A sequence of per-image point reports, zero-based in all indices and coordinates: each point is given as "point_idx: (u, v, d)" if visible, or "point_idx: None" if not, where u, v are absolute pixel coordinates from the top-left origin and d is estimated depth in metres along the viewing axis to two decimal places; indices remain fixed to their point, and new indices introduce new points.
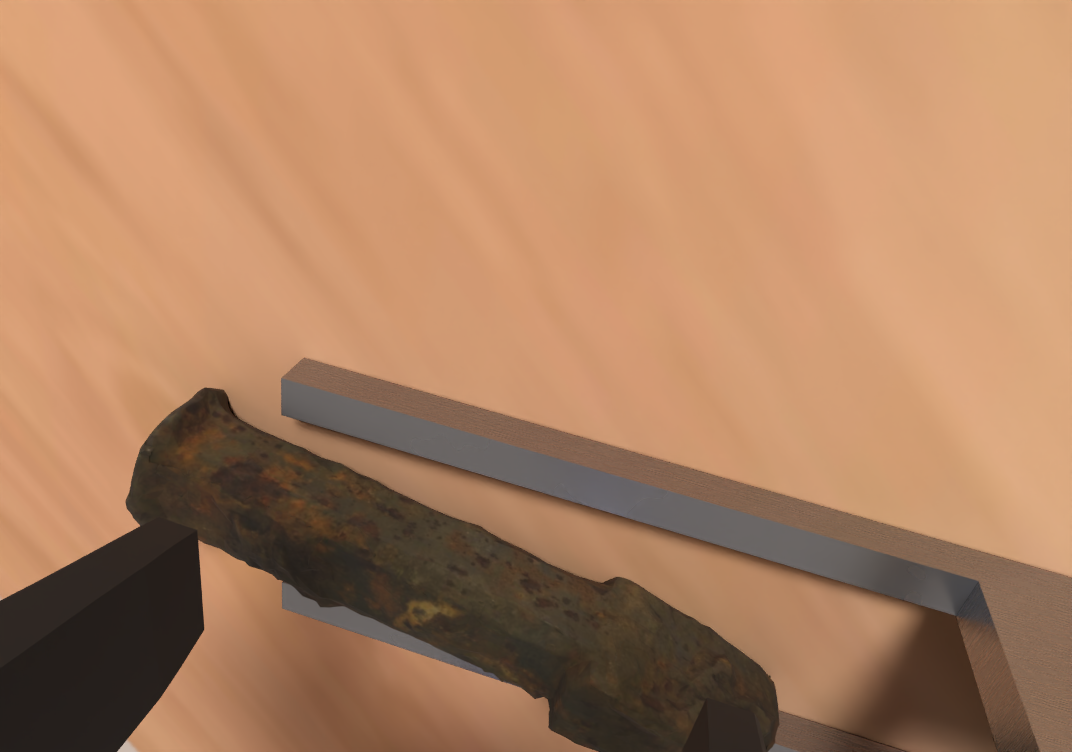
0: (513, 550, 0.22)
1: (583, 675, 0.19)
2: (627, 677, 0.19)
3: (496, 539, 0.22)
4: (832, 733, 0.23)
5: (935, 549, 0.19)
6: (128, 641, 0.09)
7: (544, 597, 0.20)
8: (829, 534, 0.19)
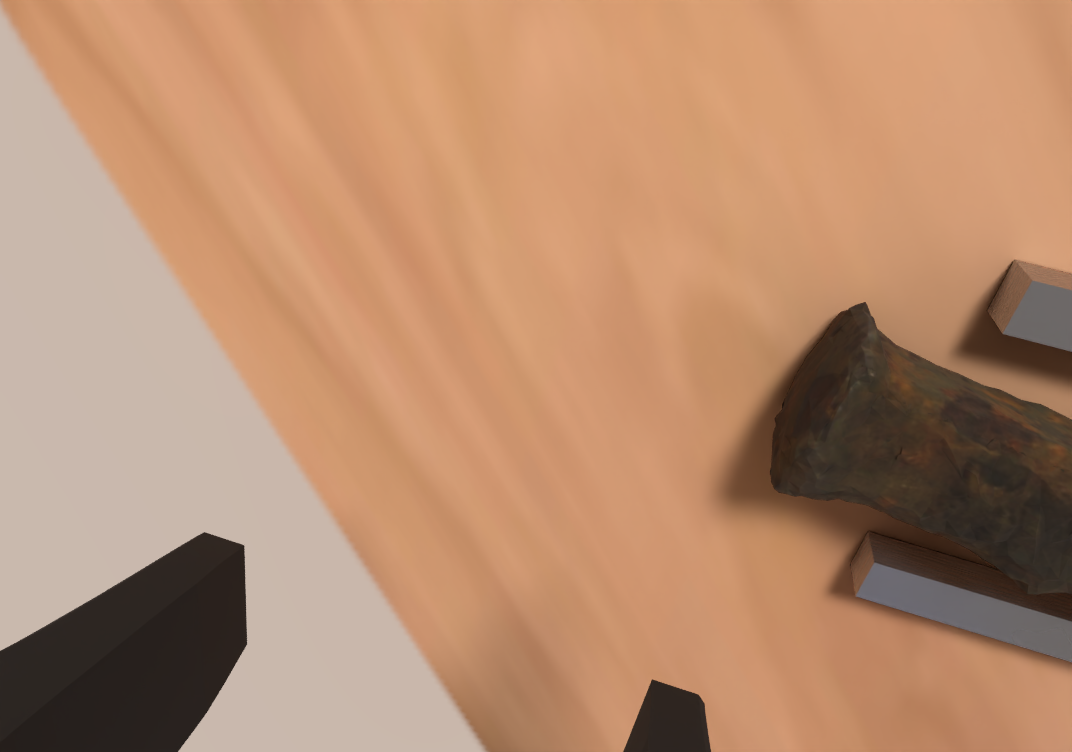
0: None
1: None
2: None
3: None
4: None
5: None
6: (178, 659, 0.09)
7: None
8: None
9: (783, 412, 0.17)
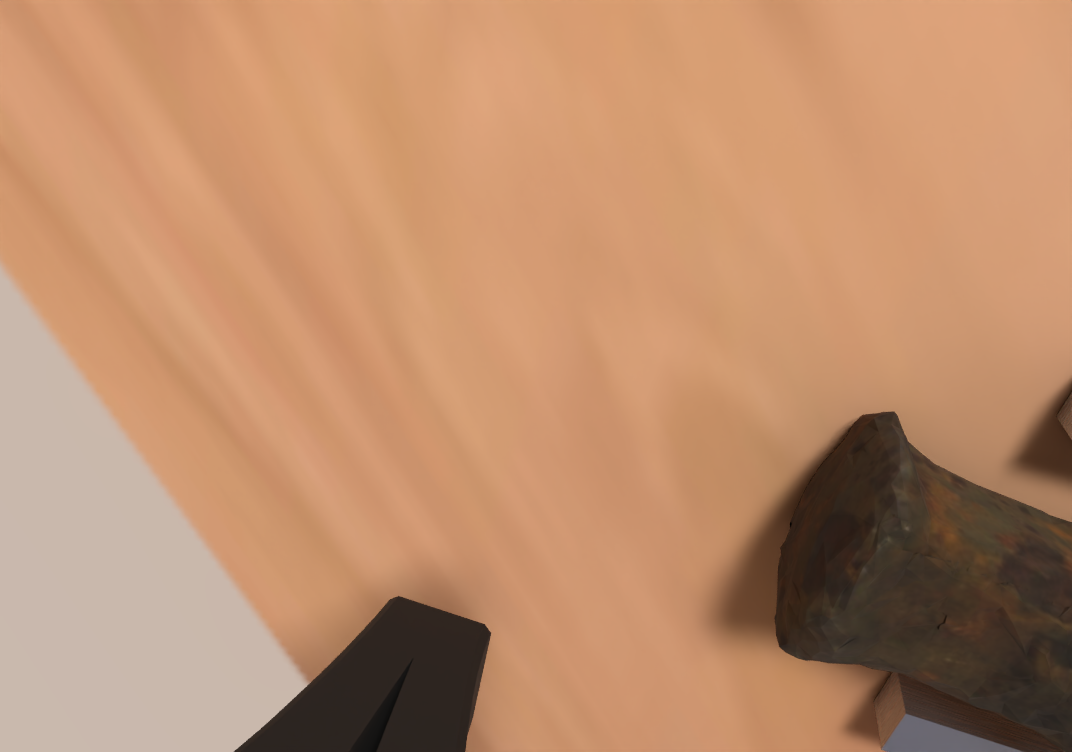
0: None
1: None
2: None
3: None
4: None
5: None
6: None
7: None
8: None
9: (790, 545, 0.14)
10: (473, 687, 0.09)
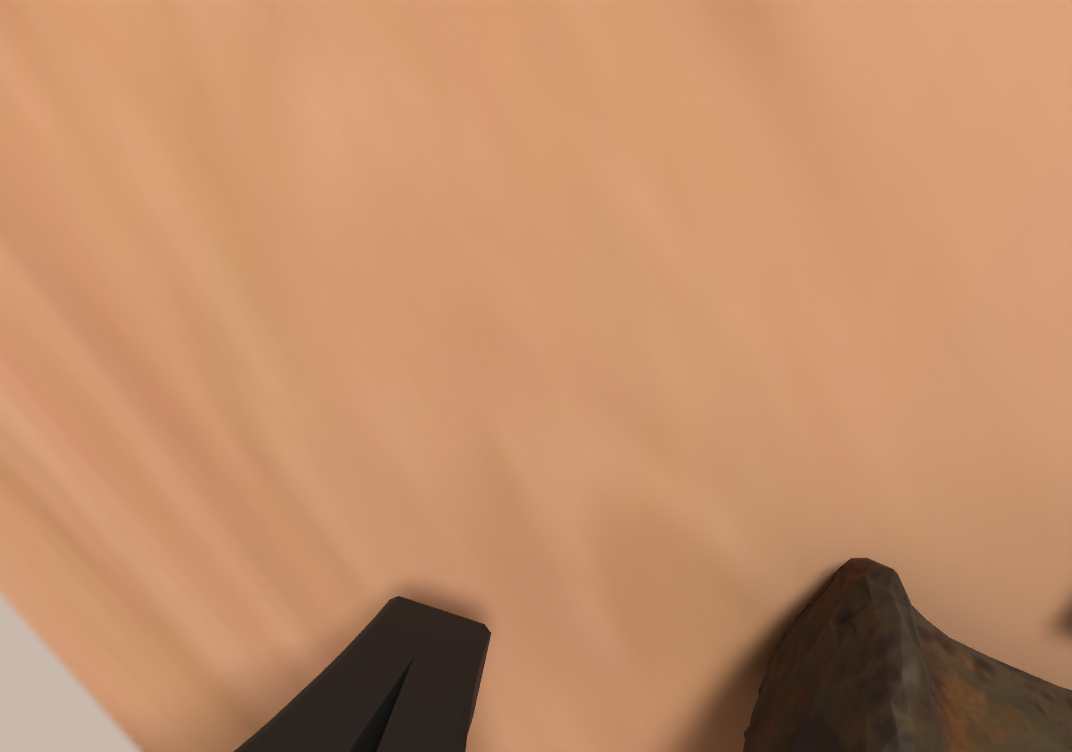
0: None
1: None
2: None
3: None
4: None
5: None
6: None
7: None
8: None
9: (756, 738, 0.10)
10: (473, 687, 0.09)
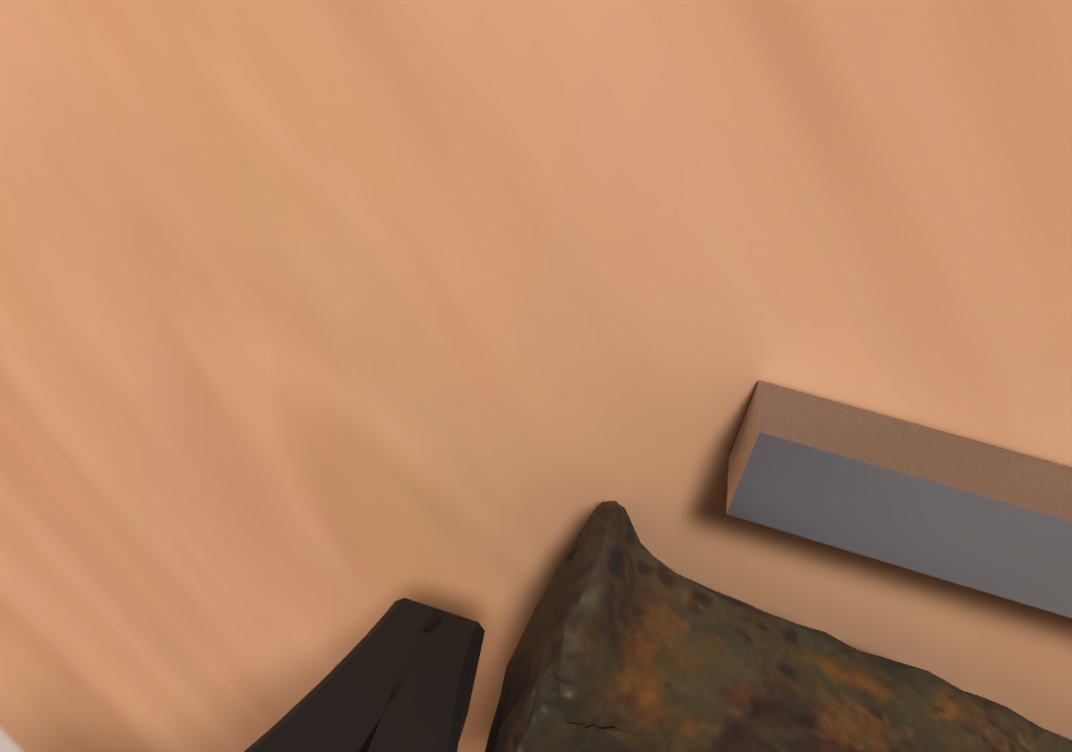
0: None
1: None
2: None
3: None
4: None
5: None
6: None
7: None
8: None
9: None
10: (466, 685, 0.09)
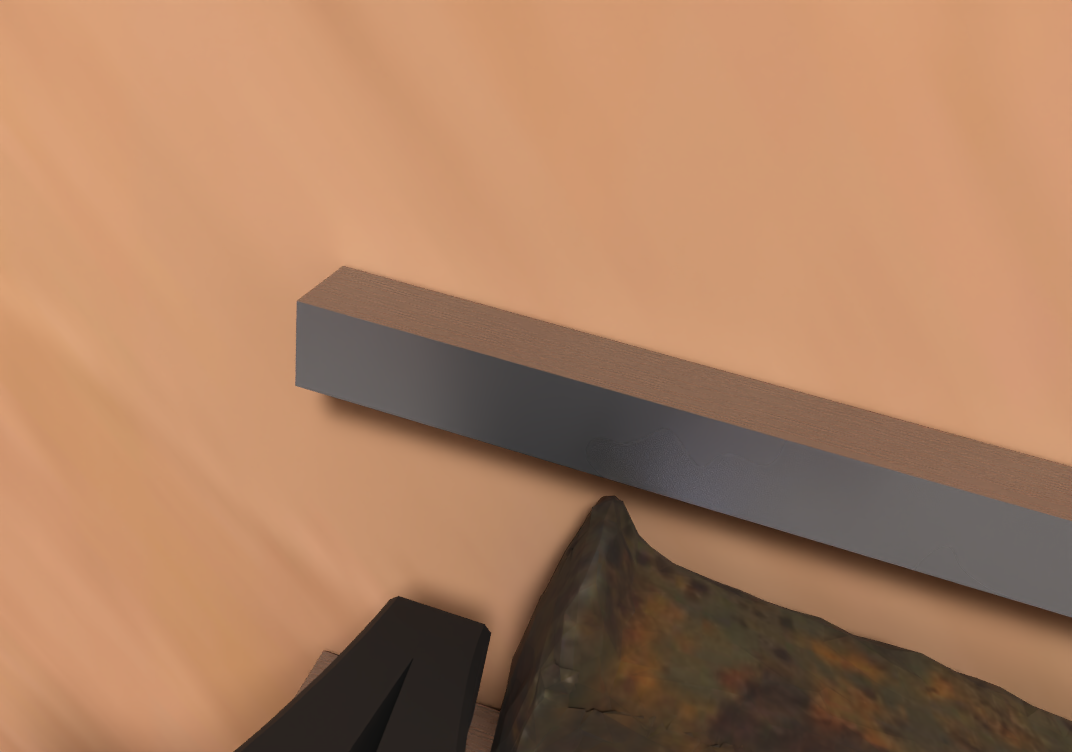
0: None
1: None
2: None
3: None
4: None
5: None
6: None
7: None
8: None
9: None
10: (473, 687, 0.09)
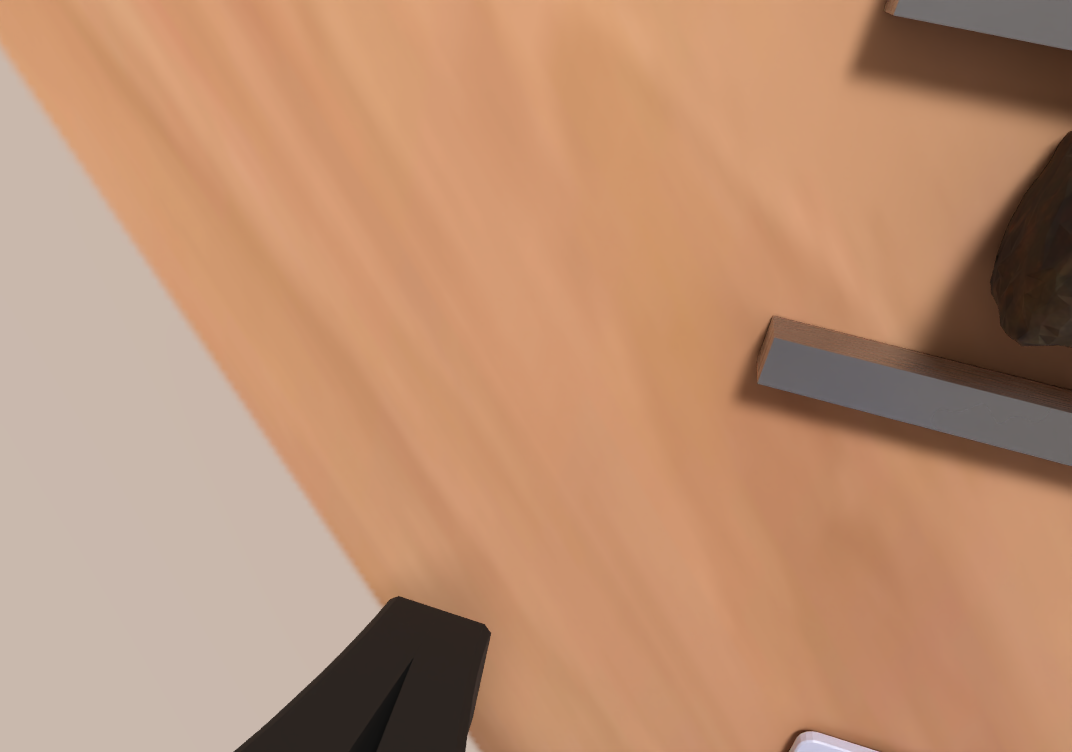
0: None
1: None
2: None
3: None
4: None
5: None
6: None
7: None
8: None
9: (1013, 254, 0.14)
10: (473, 687, 0.09)
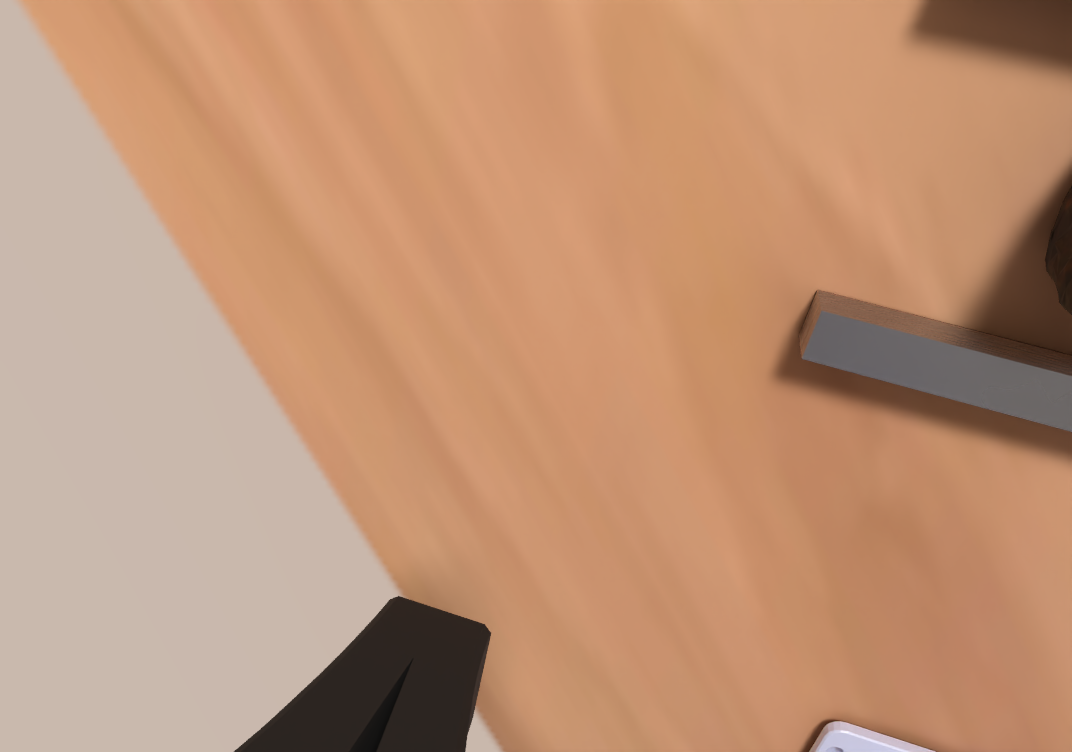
0: None
1: None
2: None
3: None
4: None
5: None
6: None
7: None
8: None
9: None
10: (473, 687, 0.09)
